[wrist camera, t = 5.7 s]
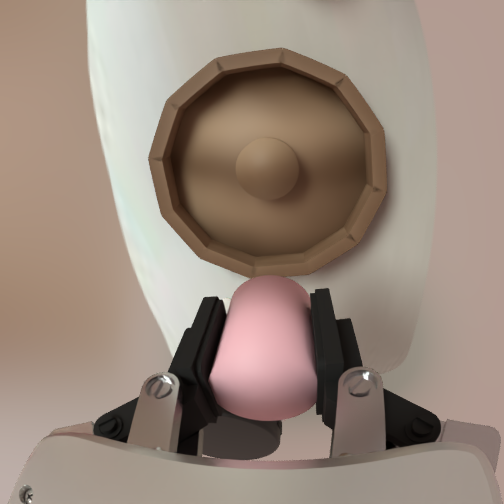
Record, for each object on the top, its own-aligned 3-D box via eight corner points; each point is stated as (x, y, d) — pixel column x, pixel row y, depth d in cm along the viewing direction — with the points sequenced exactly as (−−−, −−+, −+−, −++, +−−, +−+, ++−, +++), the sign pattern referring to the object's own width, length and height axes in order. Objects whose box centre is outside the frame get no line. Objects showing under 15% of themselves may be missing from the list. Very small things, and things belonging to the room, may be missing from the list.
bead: (222, 278, 12) (194, 356, 8) (310, 271, 11) (321, 352, 7) (237, 342, 13) (221, 419, 9) (313, 338, 13) (319, 418, 9)
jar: (245, 371, 30) (230, 468, 19) (184, 332, 28) (145, 430, 18) (305, 330, 27) (310, 442, 16) (239, 280, 25) (209, 395, 14)
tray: (151, 84, 18) (134, 81, 15) (361, 54, 16) (372, 45, 13) (190, 266, 25) (180, 283, 22) (374, 250, 22) (383, 267, 20)
